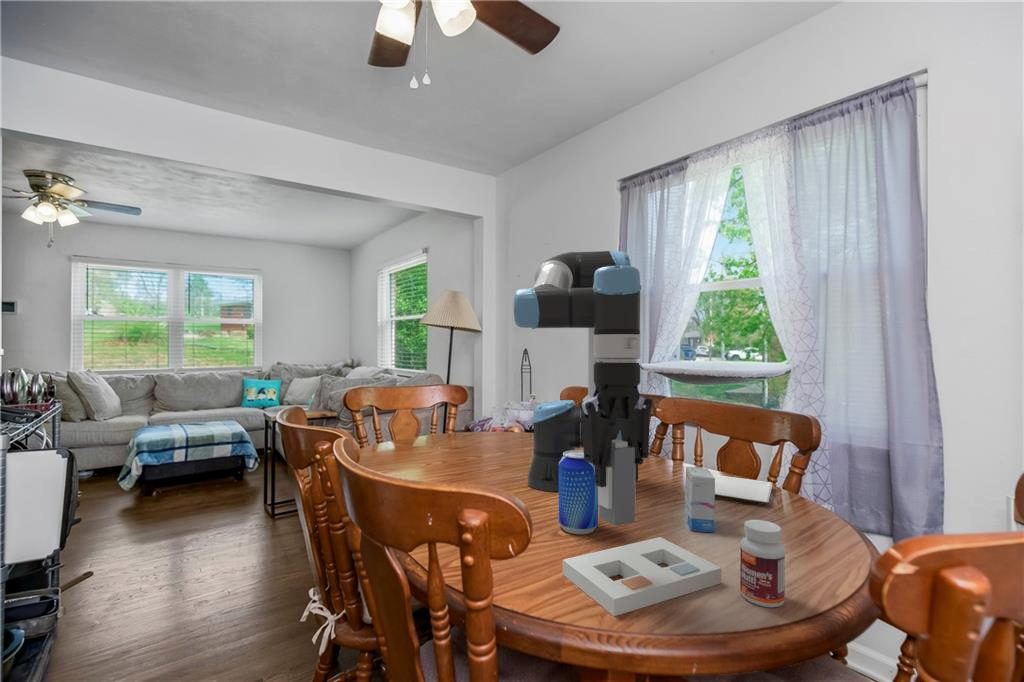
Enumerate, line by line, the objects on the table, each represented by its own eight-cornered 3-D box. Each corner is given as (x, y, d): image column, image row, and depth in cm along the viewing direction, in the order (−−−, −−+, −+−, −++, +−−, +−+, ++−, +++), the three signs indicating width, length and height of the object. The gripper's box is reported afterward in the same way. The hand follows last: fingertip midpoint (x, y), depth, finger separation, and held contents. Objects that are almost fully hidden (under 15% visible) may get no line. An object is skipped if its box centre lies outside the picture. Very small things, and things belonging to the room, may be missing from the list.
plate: (772, 489, 130) (772, 482, 130) (768, 510, 114) (768, 501, 114) (700, 479, 140) (700, 472, 140) (687, 496, 124) (687, 488, 124)
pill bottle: (735, 599, 73) (735, 526, 73) (746, 584, 78) (746, 515, 78) (780, 614, 69) (780, 536, 69) (788, 596, 74) (788, 524, 74)
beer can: (602, 524, 104) (602, 451, 104) (592, 538, 96) (592, 459, 96) (565, 518, 107) (565, 447, 107) (553, 531, 100) (553, 455, 100)
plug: (599, 517, 78) (599, 440, 78) (619, 514, 80) (618, 438, 80) (615, 526, 75) (614, 444, 75) (634, 522, 76) (634, 442, 77)
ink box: (715, 533, 99) (715, 476, 99) (690, 531, 100) (690, 475, 100) (707, 518, 107) (707, 466, 107) (684, 517, 108) (684, 465, 108)
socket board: (562, 574, 81) (562, 557, 81) (660, 550, 91) (660, 535, 91) (614, 616, 69) (614, 597, 69) (721, 583, 78) (721, 566, 78)
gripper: (587, 362, 71) (586, 519, 70) (672, 361, 78) (672, 503, 78) (560, 360, 77) (560, 504, 77) (641, 360, 85) (641, 491, 84)
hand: (616, 503), depth 77 cm, fingers closed on plug, 4 cm apart
